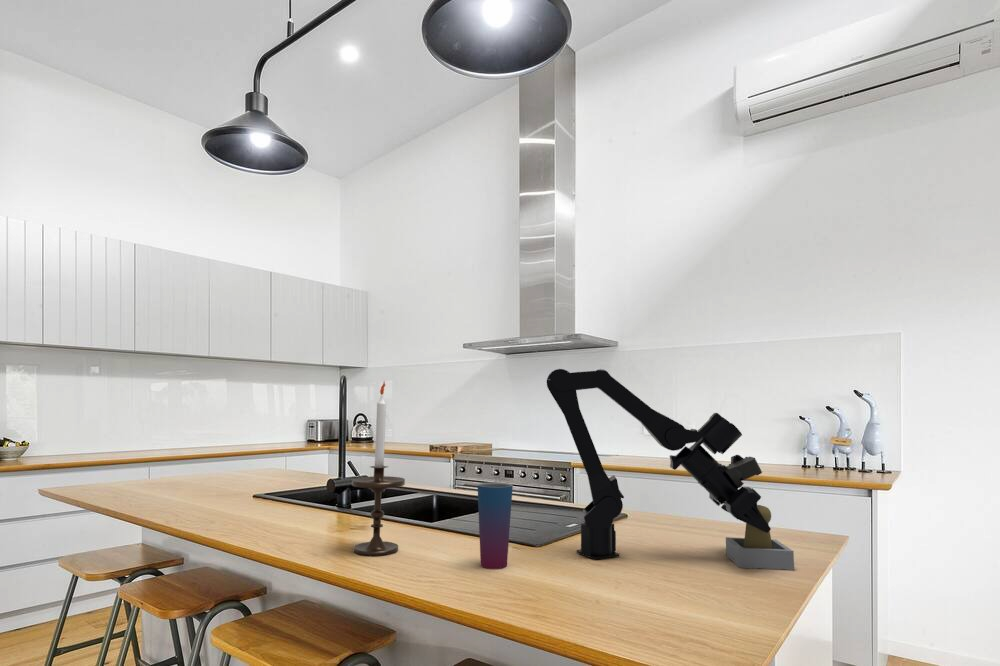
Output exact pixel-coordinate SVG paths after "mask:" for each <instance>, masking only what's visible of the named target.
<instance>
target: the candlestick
mask: <svg viewBox="0 0 1000 666" xmlns="http://www.w3.org/2000/svg"><path fill="white" fill-rule="evenodd" d="M385 387H386V383H385V380H383V383H382V385H381V387H380V390H379V393H380V396H379V397H380V398H379V400H378V401H377V402H376V419H375V420H376V421H375V422H376V423H375V424H376V425H375V446H374V451H375V452H374V465H372V466H369V468H370V469H371V468H372V469H373V476H362V477H356V478H352V479H351V486H352V487H354V488H362V489H368V490H371V492H372V493H374V505H373V506H374V509H373V510H372V511H371V512H370V517H371V518H372V519H373V522H372V524H371V525H370V528H372V530H373V531H372V532H373V533H372V537H371V539H370V540H369V541H365V542H361V543H358V544H355V545H354V546H353V551H352V552H353V554H355V555H357V556H360V557H386V556H390V555H393V554H394V555H395V554H397V553H398V552H399V544H398V543H395V542H392V541H391V542H390V541H383V540H382V537H381V528H383V527H384V524H382V518H383V517H384V515H385V512H384V510H382V509H381V508H382V493H384V492H385V490H388V489H391V488H398V487H403V486H405V482H406V480H405V478H404V477H400V476H390V475H389V476H388V475H387V476H385V469H386V468H389V466H388V465H387V466H386V465H385V439H386V417H387V416H386V413H387V411H386V410H387V402H385V399H384V393H385Z"/></svg>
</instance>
